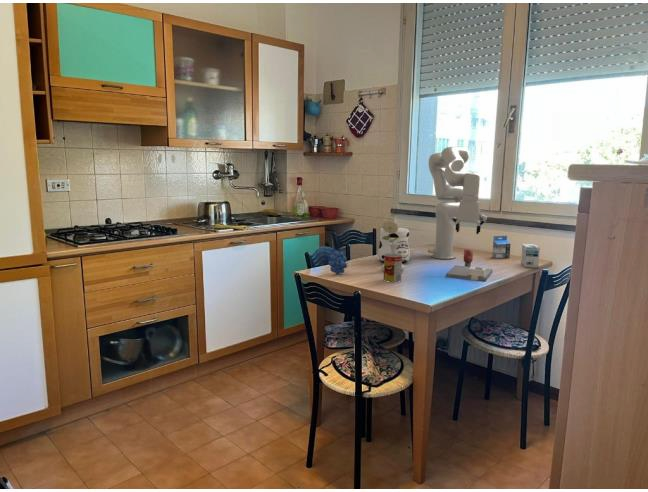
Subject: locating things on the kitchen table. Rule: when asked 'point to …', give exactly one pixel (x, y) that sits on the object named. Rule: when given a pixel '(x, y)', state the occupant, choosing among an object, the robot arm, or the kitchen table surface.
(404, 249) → the milk container
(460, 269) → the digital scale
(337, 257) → the grapes
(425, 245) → the kitchen table surface
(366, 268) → the kitchen table surface
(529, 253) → the light bulb box
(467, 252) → the reddish rounded cylinder
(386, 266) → the canned food
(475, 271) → the block
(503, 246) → the label tape cartridge
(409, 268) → the kitchen table surface
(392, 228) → the flower in vase
